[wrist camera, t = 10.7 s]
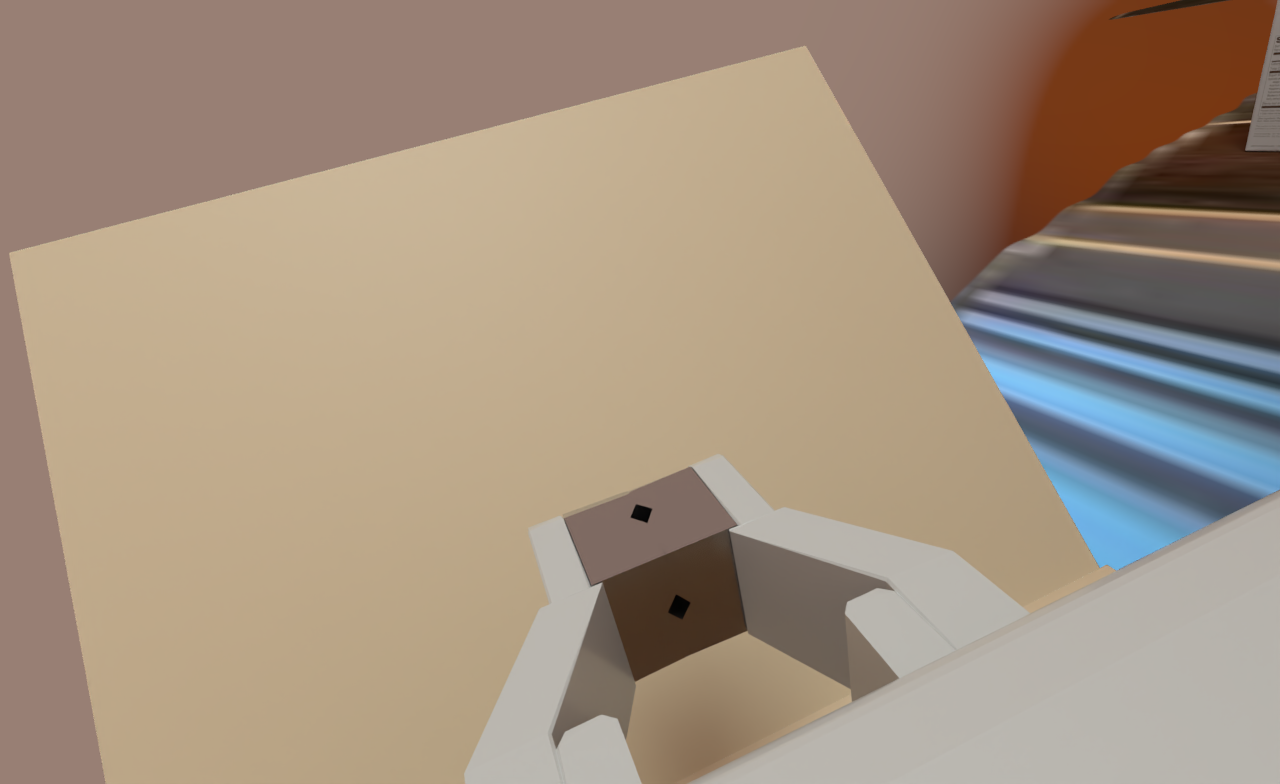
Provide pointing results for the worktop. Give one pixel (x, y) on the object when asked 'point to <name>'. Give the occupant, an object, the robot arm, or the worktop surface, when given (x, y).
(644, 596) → the robot arm
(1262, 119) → the supplement box
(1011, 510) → the carton flap
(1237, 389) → the worktop surface
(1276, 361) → the worktop surface
